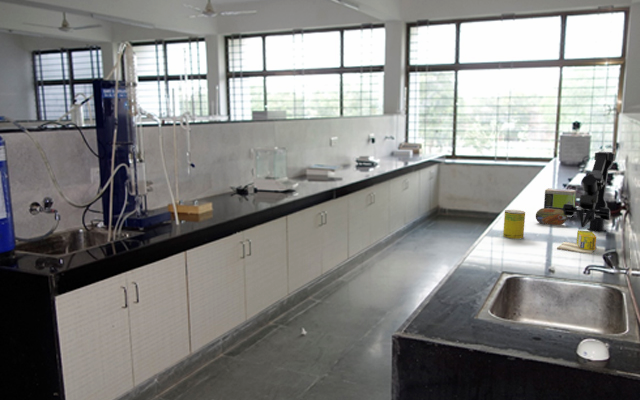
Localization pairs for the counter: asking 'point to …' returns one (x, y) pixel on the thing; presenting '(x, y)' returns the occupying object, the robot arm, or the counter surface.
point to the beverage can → (514, 224)
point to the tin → (551, 216)
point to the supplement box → (586, 240)
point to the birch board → (574, 248)
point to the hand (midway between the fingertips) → (582, 226)
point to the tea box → (559, 198)
